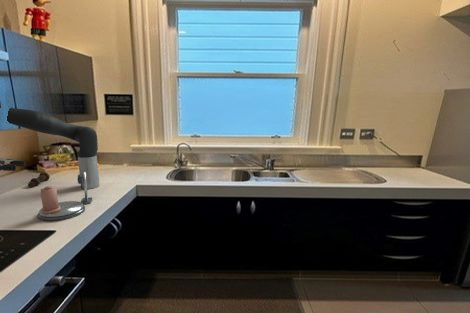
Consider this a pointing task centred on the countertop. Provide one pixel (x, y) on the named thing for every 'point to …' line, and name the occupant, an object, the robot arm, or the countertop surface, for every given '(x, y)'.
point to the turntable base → (61, 217)
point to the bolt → (39, 179)
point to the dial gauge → (83, 180)
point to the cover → (49, 200)
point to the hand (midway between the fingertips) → (20, 165)
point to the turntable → (65, 209)
